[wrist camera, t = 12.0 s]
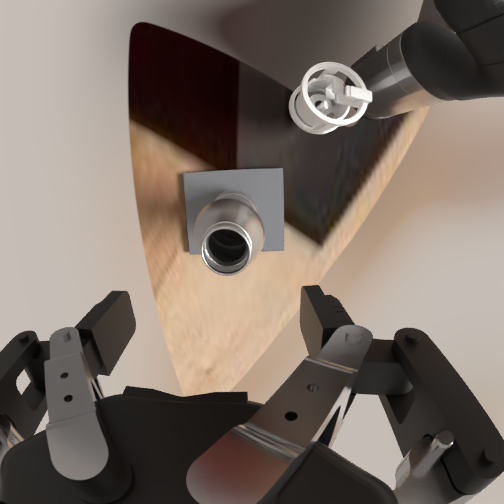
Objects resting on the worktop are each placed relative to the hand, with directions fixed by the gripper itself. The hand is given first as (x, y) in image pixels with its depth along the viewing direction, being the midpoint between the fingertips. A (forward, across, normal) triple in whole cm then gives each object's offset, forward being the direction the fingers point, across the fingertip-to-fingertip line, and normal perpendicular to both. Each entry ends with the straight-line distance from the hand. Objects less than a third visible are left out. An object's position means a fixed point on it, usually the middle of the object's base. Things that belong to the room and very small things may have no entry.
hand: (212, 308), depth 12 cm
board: (+29, 0, 0) cm, 29 cm away
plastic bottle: (+28, 0, 0) cm, 28 cm away
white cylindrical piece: (+29, -11, -14) cm, 34 cm away
